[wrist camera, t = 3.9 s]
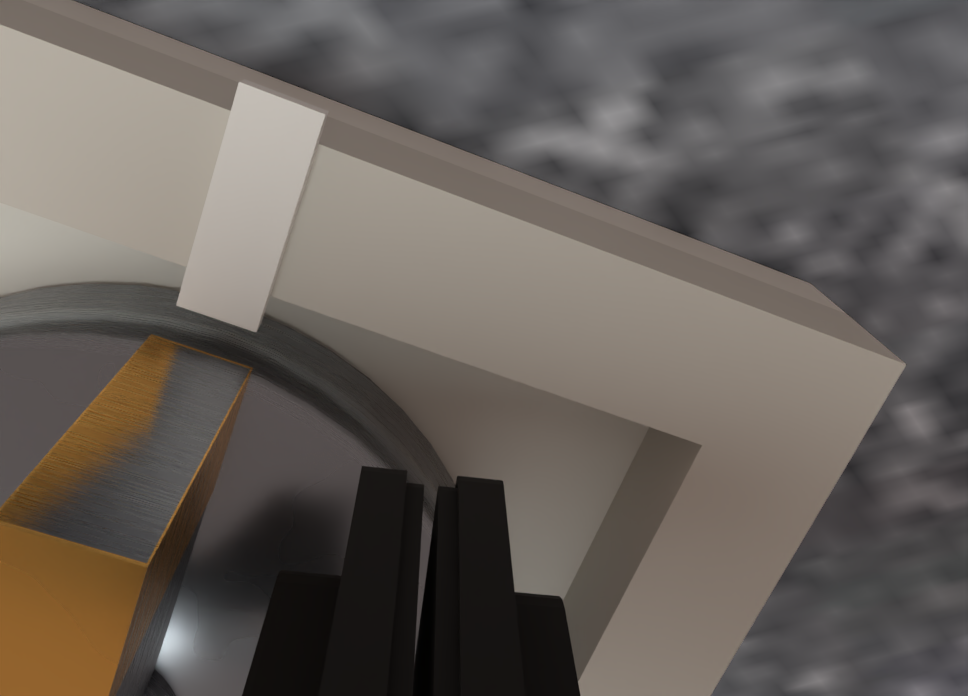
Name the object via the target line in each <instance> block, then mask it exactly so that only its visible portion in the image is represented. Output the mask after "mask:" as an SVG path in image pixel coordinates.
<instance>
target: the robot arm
mask: <svg viewBox="0 0 968 696" xmlns="http://www.w3.org/2000/svg"><path fill="white" fill-rule="evenodd" d="M406 481H407V470H398V469H388V468H378V467H368V466H362V468H361V473H360V479H359V484H358V489H357V495H356V500H355V505H354V511H353V516H352V521H351V527H350V532H349V537H348V543H347V548H346V553H345V559H344V564H343V569H342V575H341V576H339V575H328V574H317V573H307V572H296V571H285V570H281V571H280V572H279V573H278V576H277V579H276V582H275V585H274V588H273V592H272V595H271V599H270V602H269V605H268V609H267V612H266V616H265V619H264V622H263V626H262V629H261V633H260V636H259V639H258V643H257V646H256V650H255V653H254V656H253V660H252V663H251V666H250V670H249V673H248V677H247V680H246V683H245V687H244V690H243V694H242V696H580V690H579V685H578V679H577V673H576V668H575V662H574V657H573V651H572V646H571V640H570V634H569V629H568V623H567V618H566V612H565V607H564V603H563V600H562V598H561V597H560V596H553V595H542V594H531V593H521V592H515V590H514V580H513V570H512V560H511V551H510V541H509V531H508V521H507V511H506V502H505V492H504V483H503V481H502V480H495V479H485V478H475V477H466V476H457V479H456V484H455V488H454V487H445V486H438V491H437V497H436V505H435V512H434V520H433V527H432V535H431V542H430V550H429V557H428V564H427V572H426V579H425V587H424V594H423V602H422V609H421V617H420V624H419V632H418V639H417V647H416V654H415V640H416V622H417V604H418V587H419V569H420V551H421V533H422V515H423V498H424V484H415V483H406ZM414 658H415V662H414Z"/></svg>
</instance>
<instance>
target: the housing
mask: <svg viewBox="0 0 968 696" xmlns="http://www.w3.org/2000/svg"><path fill="white" fill-rule="evenodd" d="M81 284H114V285H141V286H148V287H154V288H161V289H168V290H174V291H180V293H179V296H178V300H177V304H176V306H179V307H182V308H185V309H188V310H191V311H194V312H197V313H200V314H203V315H206V316H209V317H212V318H215V319H218V320H221V321H224V322H226V323H229V324H232V325H235V326H238V327H241V328H244V329H247V330H250V331H253V332H257V330H258V329H259V327H260V325H261V323H262V319H263V316H264V317H267V318H269V319H271V320H274V321H276V322H279V323H281V324H284V325H286V326H288V327H290V328H292V329H294V330H295V331H297V332H299V333H301V334H303V335H304V336H306V337H308V338H310V339H312V340H313V341H315V342H317V343H319V344H321V345H322V346H324V347H326V348H328V349H330V350H331V351H333V352H334V353H335V354H337V355H338V356H339V357H341V358H342V359H344V360H345V361H346V362H348V363H349V364H350V365H352V366H353V367H355V368H356V369H357V370H359V371H360V372H361V373H363V374H364V375H366V376H367V377H368V378H370V379H371V380H372V381H373V382H374V383H375V384H376V385H377V386H378V387H379V388H380V389H381V390H382V391H383V392H385V393H386V394H387V395H388V396H389V397H390V398H391V399H392V400H393V401H394V402H395V403H396V404H397V405H398V406H399V407H400V408H402V409H403V411H404V412H405V413H406V414H407V415H408V417H409V418H410V419H411V420H412V421H413V423H414V424H415V425H416V426H417V428H418V429H419V430H420V431H421V432H422V434H423V435H424V436H425V437H426V439H427V440H428V441H429V442H430V443H431V445H432V447H433V448H434V450H435V451H436V453H437V455H438V456H439V458H440V460H441V461H442V463H443V464H444V466H445V468H446V469H447V471H448V473H449V474H450V476H451V477H452V479H453V481H454V483H455V484H456V479H457V476H466V477H475V478H485V479H495V480H502V481H503V483H504V492H505V502H506V511H507V521H508V531H509V541H510V551H511V560H512V570H513V580H514V590H515V592H521V593H531V594H542V595H553V596H560V597H561V598H562V600H563V603H564V607H565V612H566V618H567V623H568V629H569V634H570V640H571V646H572V651H573V657H574V662H575V668H576V673H577V679H578V685H579V690H580V696H711V694H712V692H713V691H714V689H715V687H716V686H717V684H718V682H719V681H720V679H721V677H722V675H723V674H724V672H725V670H726V669H727V667H728V665H729V664H730V662H731V660H732V659H733V657H734V655H735V653H736V652H737V650H738V648H739V647H740V645H741V643H742V642H743V640H744V638H745V637H746V635H747V633H748V632H749V630H750V628H751V626H752V625H753V623H754V621H755V620H756V618H757V616H758V615H759V613H760V611H761V610H762V608H763V606H764V604H765V603H766V601H767V599H768V598H769V596H770V594H771V593H772V591H773V589H774V588H775V586H776V584H777V583H778V581H779V579H780V577H781V576H782V574H783V572H784V571H785V569H786V567H787V566H788V564H789V562H790V561H791V559H792V557H793V555H794V554H795V552H796V550H797V549H798V547H799V545H800V544H801V542H802V540H803V539H804V537H805V535H806V534H807V532H808V530H809V528H810V527H811V525H812V523H813V522H814V520H815V518H816V517H817V515H818V513H819V512H820V510H821V508H822V506H823V505H824V503H825V501H826V500H827V498H828V496H829V495H830V493H831V491H832V490H833V488H834V486H835V485H836V483H837V481H838V479H839V478H840V476H841V474H842V473H843V471H844V469H845V468H846V466H847V464H848V463H849V461H850V459H851V457H852V456H853V454H854V452H855V451H856V449H857V447H858V446H859V444H860V442H861V441H862V439H863V437H864V435H865V434H866V432H867V430H868V429H869V427H870V425H871V424H872V422H873V420H874V419H875V417H876V415H877V414H878V412H879V410H880V408H881V407H882V405H883V403H884V402H885V400H886V398H887V397H888V395H889V393H890V392H891V390H892V388H893V386H894V385H895V383H896V381H897V380H898V378H899V376H900V375H901V373H902V371H903V370H904V368H905V366H906V364H905V363H904V362H903V361H902V360H901V359H899V358H898V357H897V356H896V355H895V354H893V353H892V352H891V351H890V350H889V349H888V348H886V347H885V346H884V345H883V344H882V343H880V342H879V341H878V340H877V339H876V338H875V337H873V336H872V335H871V334H870V333H869V332H867V331H866V330H865V329H864V328H863V327H862V326H860V325H859V324H858V323H857V322H856V321H854V320H853V319H852V318H851V317H850V316H848V315H847V314H846V313H845V312H844V311H843V310H841V309H840V308H839V307H838V306H837V305H835V304H834V303H833V302H832V301H831V300H830V299H828V298H827V297H826V296H825V295H824V294H822V293H821V292H820V291H819V290H818V289H817V288H815V287H814V286H813V285H812V284H810V283H808V282H805V281H802V280H800V279H797V278H795V277H792V276H789V275H787V274H784V273H782V272H779V271H776V270H774V269H771V268H769V267H766V266H763V265H761V264H758V263H756V262H753V261H750V260H748V259H745V258H743V257H740V256H737V255H735V254H732V253H730V252H727V251H724V250H722V249H719V248H717V247H714V246H711V245H709V244H706V243H703V242H701V241H698V240H696V239H693V238H690V237H688V236H685V235H683V234H680V233H677V232H675V231H672V230H670V229H667V228H664V227H662V226H659V225H657V224H654V223H651V222H649V221H646V220H644V219H641V218H638V217H636V216H633V215H631V214H628V213H625V212H623V211H620V210H618V209H615V208H612V207H610V206H607V205H605V204H602V203H599V202H597V201H594V200H591V199H589V198H586V197H584V196H581V195H578V194H576V193H573V192H571V191H568V190H565V189H563V188H560V187H558V186H555V185H552V184H550V183H547V182H545V181H542V180H539V179H537V178H534V177H532V176H529V175H526V174H524V173H521V172H519V171H516V170H513V169H511V168H508V167H506V166H503V165H500V164H498V163H495V162H493V161H490V160H487V159H485V158H482V157H479V156H477V155H474V154H472V153H469V152H466V151H464V150H461V149H459V148H456V147H453V146H451V145H448V144H446V143H443V142H440V141H438V140H435V139H433V138H430V137H427V136H425V135H422V134H420V133H417V132H414V131H412V130H409V129H407V128H404V127H401V126H399V125H396V124H394V123H391V122H388V121H386V120H383V119H381V118H378V117H375V116H373V115H370V114H367V113H365V112H362V111H360V110H357V109H354V108H352V107H349V106H347V105H344V104H341V103H339V102H336V101H334V100H331V99H328V98H326V97H323V96H321V95H318V94H315V93H313V92H310V91H308V90H305V89H302V88H300V87H297V86H295V85H292V84H289V83H287V82H284V81H282V80H279V79H276V78H274V77H271V76H269V75H266V74H263V73H261V72H258V71H255V70H253V69H250V68H248V67H245V66H242V65H240V64H237V63H235V62H232V61H229V60H227V59H224V58H222V57H219V56H216V55H214V54H211V53H209V52H206V51H203V50H201V49H198V48H196V47H193V46H190V45H188V44H185V43H183V42H180V41H177V40H175V39H172V38H170V37H167V36H164V35H162V34H159V33H157V32H154V31H151V30H149V29H146V28H143V27H141V26H138V25H136V24H133V23H130V22H128V21H125V20H123V19H120V18H117V17H115V16H112V15H110V14H107V13H104V12H102V11H99V10H97V9H94V8H91V7H89V6H86V5H84V4H81V3H78V2H76V1H73V0H0V297H4V296H9V295H13V294H17V293H22V292H26V291H30V290H35V289H39V288H49V287H60V286H71V285H81Z"/></svg>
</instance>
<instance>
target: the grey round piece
mask: <svg viewBox="0 0 968 696" xmlns="http://www.w3.org/2000/svg"><path fill="white" fill-rule="evenodd" d="M179 293H180V291H174V290H168V289H161V288H154V287H148V286H141V285H114V284H81V285H71V286H60V287H49V288H39V289H35V290H30V291H26V292H22V293H17V294H13V295H9V296H4V297H0V696H242V694H243V690H244V687H245V683H246V680H247V677H248V673H249V670H250V666H251V663H252V660H253V656H254V653H255V650H256V646H257V643H258V639H259V636H260V633H261V629H262V626H263V622H264V619H265V616H266V612H267V609H268V605H269V602H270V599H271V595H272V592H273V588H274V585H275V582H276V579H277V576H278V573H279V572H280V571H281V570H285V571H296V572H307V573H317V574H328V575H339V576H341V575H342V569H343V564H344V559H345V553H346V548H347V543H348V537H349V532H350V527H351V521H352V516H353V511H354V505H355V500H356V495H357V489H358V484H359V479H360V473H361V468H362V466H368V467H378V468H388V469H398V470H407V481H406V483H415V484H424V498H423V515H422V533H421V551H420V569H419V587H418V604H417V622H416V640H415V654H416V647H417V639H418V632H419V624H420V617H421V609H422V602H423V594H424V587H425V579H426V572H427V564H428V557H429V550H430V542H431V535H432V527H433V520H434V512H435V505H436V497H437V491H438V486H445V487H454V488H455V483H454V481H453V479H452V477H451V476H450V474H449V473H448V471H447V469H446V468H445V466H444V464H443V463H442V461H441V460H440V458H439V456H438V455H437V453H436V451H435V450H434V448H433V447H432V445H431V443H430V442H429V441H428V440H427V439H426V437H425V436H424V435H423V434H422V432H421V431H420V430H419V429H418V428H417V426H416V425H415V424H414V423H413V421H412V420H411V419H410V418H409V417H408V415H407V414H406V413H405V412H404V411H403V409H402V408H400V407H399V406H398V405H397V404H396V403H395V402H394V401H393V400H392V399H391V398H390V397H389V396H388V395H387V394H386V393H385V392H383V391H382V390H381V389H380V388H379V387H378V386H377V385H376V384H375V383H374V382H373V381H372V380H371V379H370V378H368V377H367V376H366V375H364V374H363V373H361V372H360V371H359V370H357V369H356V368H355V367H353V366H352V365H350V364H349V363H348V362H346V361H345V360H344V359H342V358H341V357H339V356H338V355H337V354H335V353H334V352H333V351H331V350H330V349H328V348H326V347H324V346H322V345H321V344H319V343H317V342H315V341H313V340H312V339H310V338H308V337H306V336H304V335H303V334H301V333H299V332H297V331H295V330H294V329H292V328H290V327H288V326H286V325H284V324H281V323H279V322H276V321H274V320H271V319H269V318H267V317H264V316H263V319H262V323H261V325H260V327H259V329H258V330H257V332H253V331H250V330H247V329H244V328H241V327H238V326H235V325H232V324H229V323H226V322H224V321H221V320H218V319H215V318H212V317H209V316H206V315H203V314H200V313H197V312H194V311H191V310H188V309H185V308H182V307H179V306H176V304H177V300H178V296H179ZM414 662H415V658H414Z"/></svg>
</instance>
